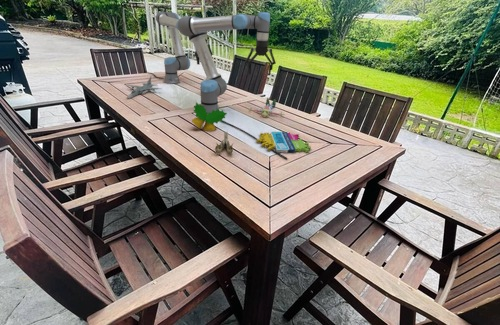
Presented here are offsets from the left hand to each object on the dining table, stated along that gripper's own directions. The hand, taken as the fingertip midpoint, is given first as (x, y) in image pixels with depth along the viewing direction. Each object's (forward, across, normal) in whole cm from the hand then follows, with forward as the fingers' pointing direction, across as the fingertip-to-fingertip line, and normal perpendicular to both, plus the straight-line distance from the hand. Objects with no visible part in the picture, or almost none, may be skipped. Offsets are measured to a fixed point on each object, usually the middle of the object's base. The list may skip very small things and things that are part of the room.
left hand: (204, 63), depth 245 cm
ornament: (+24, -66, -83) cm, 109 cm away
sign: (+25, -49, -126) cm, 138 cm away
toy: (+24, -10, -86) cm, 90 cm away
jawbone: (+25, -81, -112) cm, 141 cm away
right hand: (-5, -24, -87) cm, 90 cm away
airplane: (+22, -56, +15) cm, 62 cm away
